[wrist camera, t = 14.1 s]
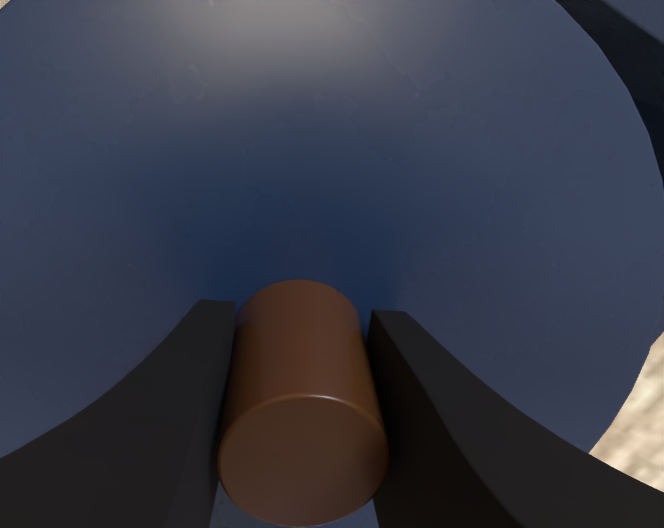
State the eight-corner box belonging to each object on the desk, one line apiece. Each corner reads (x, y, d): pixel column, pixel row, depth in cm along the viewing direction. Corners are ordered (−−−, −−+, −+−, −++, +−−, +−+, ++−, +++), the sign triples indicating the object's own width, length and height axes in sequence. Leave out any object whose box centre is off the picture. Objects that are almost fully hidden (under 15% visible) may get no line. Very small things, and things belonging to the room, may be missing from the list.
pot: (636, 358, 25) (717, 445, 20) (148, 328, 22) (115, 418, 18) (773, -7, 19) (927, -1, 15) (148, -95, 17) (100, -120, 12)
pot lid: (541, 556, 16) (628, 750, 12) (-25, 548, 15) (-141, 768, 11) (748, -35, 10) (1043, -35, 6) (-154, -153, 9) (-516, -253, 5)
